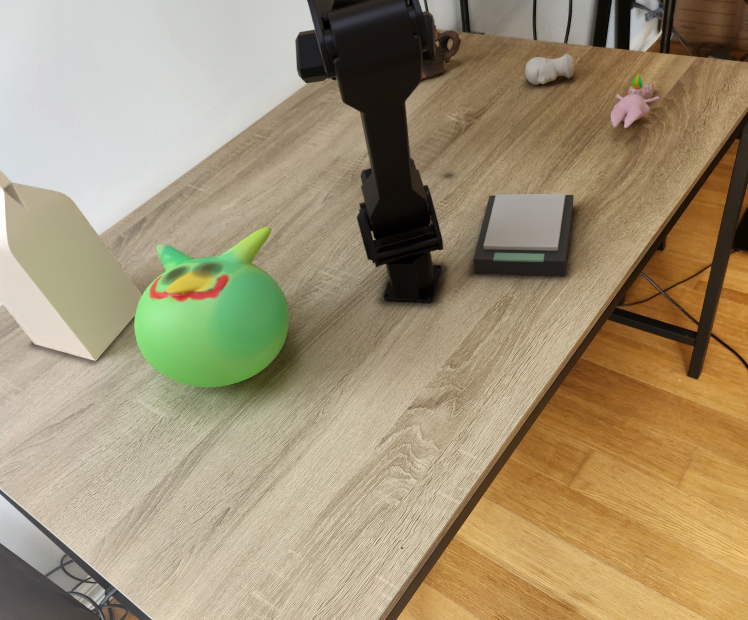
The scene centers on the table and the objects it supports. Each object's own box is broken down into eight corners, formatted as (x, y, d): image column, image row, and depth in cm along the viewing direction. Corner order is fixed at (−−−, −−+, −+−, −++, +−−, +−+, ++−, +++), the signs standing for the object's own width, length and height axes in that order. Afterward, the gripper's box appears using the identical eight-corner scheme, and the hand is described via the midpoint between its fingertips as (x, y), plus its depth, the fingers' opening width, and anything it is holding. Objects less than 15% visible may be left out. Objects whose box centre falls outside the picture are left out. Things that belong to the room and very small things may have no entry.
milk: (147, 301, 92) (40, 135, 73) (95, 361, 86) (-36, 197, 67) (87, 288, 97) (-28, 130, 78) (34, 344, 91) (-105, 187, 72)
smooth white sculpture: (523, 93, 110) (529, 70, 111) (571, 92, 107) (577, 68, 108) (519, 73, 106) (526, 49, 108) (569, 72, 103) (576, 47, 104)
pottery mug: (400, 88, 118) (386, 40, 116) (415, 86, 126) (402, 41, 124) (462, 63, 113) (448, 13, 110) (473, 63, 121) (461, 16, 118)
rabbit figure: (621, 99, 103) (596, 137, 94) (626, 60, 99) (600, 95, 90) (663, 102, 100) (641, 141, 91) (669, 61, 96) (648, 97, 87)
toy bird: (148, 411, 78) (83, 328, 67) (191, 311, 89) (141, 225, 78) (288, 409, 74) (243, 320, 63) (316, 305, 84) (281, 213, 73)
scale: (564, 276, 79) (565, 257, 77) (474, 274, 82) (472, 255, 80) (573, 209, 86) (573, 190, 84) (490, 209, 90) (489, 191, 88)
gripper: (422, -60, 77) (440, 5, 92) (275, -32, 81) (315, 26, 96) (426, 36, 78) (443, 85, 93) (280, 59, 82) (319, 102, 97)
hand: (378, 72), depth 95 cm, fingers closed on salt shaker, 3 cm apart
